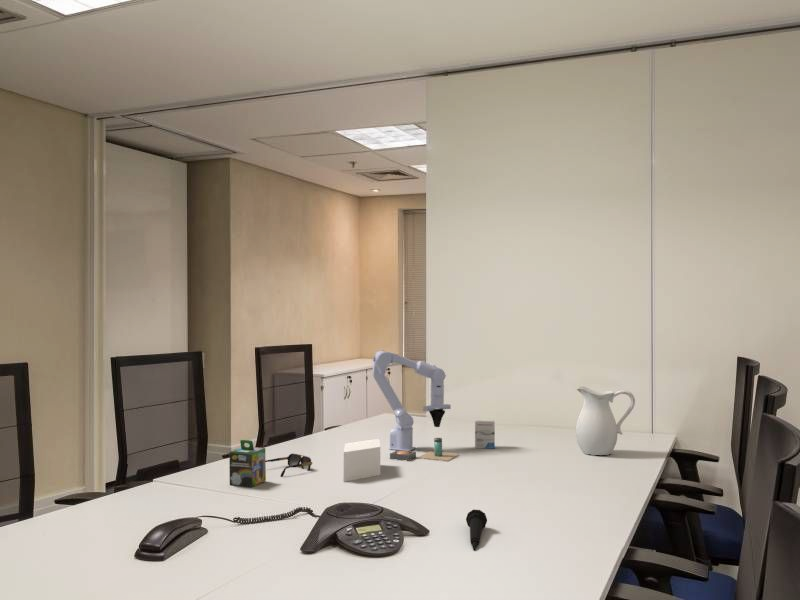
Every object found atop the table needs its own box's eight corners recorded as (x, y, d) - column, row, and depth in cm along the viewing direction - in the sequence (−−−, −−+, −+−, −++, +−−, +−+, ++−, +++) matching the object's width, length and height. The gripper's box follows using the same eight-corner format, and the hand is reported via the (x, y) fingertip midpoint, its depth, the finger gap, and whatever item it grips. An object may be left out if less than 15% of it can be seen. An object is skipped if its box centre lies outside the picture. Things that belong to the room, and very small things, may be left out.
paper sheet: (417, 458, 273) (417, 457, 273) (429, 452, 285) (429, 451, 285) (448, 461, 267) (448, 460, 267) (458, 455, 279) (458, 454, 279)
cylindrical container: (433, 456, 275) (433, 439, 275) (435, 454, 278) (435, 437, 278) (441, 456, 274) (441, 439, 274) (443, 454, 277) (442, 437, 277)
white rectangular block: (396, 467, 257) (396, 440, 257) (362, 484, 230) (362, 454, 231) (362, 463, 263) (362, 437, 263) (325, 479, 236) (325, 450, 236)
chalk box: (266, 481, 233) (266, 438, 233) (252, 487, 224) (252, 442, 224) (243, 479, 236) (243, 436, 236) (228, 485, 227) (228, 441, 227)
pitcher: (573, 455, 281) (573, 388, 282) (578, 448, 297) (578, 385, 298) (633, 460, 272) (633, 391, 273) (635, 453, 288) (635, 387, 289)
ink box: (494, 446, 299) (494, 420, 299) (494, 448, 294) (494, 421, 294) (474, 446, 300) (475, 419, 300) (475, 448, 295) (475, 421, 295)
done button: (394, 457, 271) (394, 452, 272) (399, 455, 276) (399, 450, 276) (406, 459, 269) (406, 453, 269) (411, 456, 274) (411, 451, 274)
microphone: (481, 563, 166) (483, 528, 186) (488, 542, 165) (489, 509, 185) (460, 556, 167) (464, 521, 186) (467, 535, 166) (470, 502, 185)
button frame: (389, 459, 271) (389, 453, 271) (398, 455, 278) (398, 450, 278) (408, 460, 267) (408, 455, 268) (415, 457, 275) (415, 451, 275)
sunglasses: (258, 471, 249) (258, 458, 249) (291, 465, 260) (291, 452, 260) (280, 478, 239) (281, 463, 239) (314, 471, 250) (314, 457, 250)
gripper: (443, 393, 302) (442, 423, 301) (418, 395, 293) (418, 427, 292) (454, 395, 296) (453, 426, 296) (429, 397, 287) (429, 429, 287)
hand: (436, 426), depth 294 cm, fingers closed
